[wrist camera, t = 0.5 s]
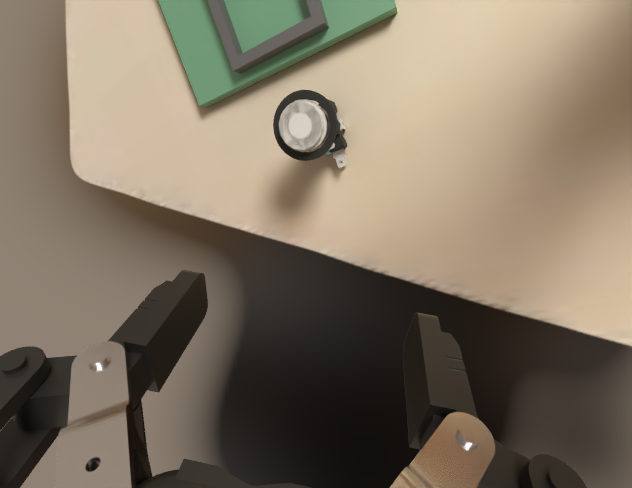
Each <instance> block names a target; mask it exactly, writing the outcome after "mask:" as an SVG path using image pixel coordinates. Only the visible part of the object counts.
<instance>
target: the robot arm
mask: <svg viewBox="0 0 632 488" xmlns="http://www.w3.org/2000/svg"><path fill="white" fill-rule="evenodd" d="M207 308H208V300H207V291H206V282H205V276H204V274H203V273H197V272H192V271H187V270H183V271H181V272H180V273H179V275H178V276H177V277H176V278H175V279H174V280H173V282H171V281H166V282H164V283H162V284H161V285H159V286H157V287H156V288H154V289H153V290H152V291H151V293H150V294H149V295H148V296H147V297H146V298H145V301H143V302H142V303H141V304H140V305H139V306H138V309H136V310H135V311H134V312H133V313H132V314H131V315H130V317H129V318H128V319H127V320H126V321H125V322H124V323H123V325H122V326H121V327H120V328H119V329H118V330H117V331H116V332H115V334H114V335H113V336H112V337H111V338H110V339H109V340H108V341H106V342H100V343H96V344H94V345H91V346H89V347H88V348H86V349H84V350H83V351H82V352H81V353H79V354H78V355H77V356H66V357H54V358H46V355H45V354H44V352H43V350H41V349H40V348H37V347H22V348H18V349H15V350H12V351H10V352H7V353H5V354H3V355H2V356H0V430H1V429H2V428H3V427H4V428H3V429H2V430H1V431H0V488H20V487H21V485H22V484H23V483H24V481H25V480H26V478H27V477H28V476H29V474H30V473H31V472H32V470H33V469H34V468H35V466H36V465H37V463H38V462H39V461H40V459H41V458H42V457H43V455H44V454H45V452H46V451H47V449H48V448H49V447H50V446H51V444H52V443H53V442H54V440H55V439H56V437H57V436H58V443H57V456H56V466H55V478H54V488H310V487H306V486H301V485H297V484H293V483H284V484H270V485H257V486H251V485H249V484H247V483H245V482H243V481H242V480H240V479H238V478H237V477H235V476H233V475H232V474H230V473H228V472H227V471H225V470H223V469H221V468H220V467H218V466H214V465H209V464H205V463H201V462H197V461H192V460H188V459H184V460H183V462H182V464H181V466H180V469H179V470H172V471H168V472H164V473H161V474H158V475H155V476H154V477H152V472H151V467H150V462H149V458H148V452H147V443H146V435H145V426H144V417H143V408H142V402H141V399H142V397H143V395H144V394H145V392H146V391H147V390H150V391H155V392H159V391H160V390H161V388H162V386H163V385H164V383H165V381H166V380H167V378H168V376H169V375H170V373H171V372H172V370H173V368H174V366H175V365H176V363H177V362H178V360H179V358H180V357H181V355H182V354H183V352H184V350H185V349H186V347H187V345H188V344H189V342H190V341H191V339H192V337H193V336H194V334H195V332H196V331H197V329H198V327H199V326H200V324H201V323H202V321H203V319H204V317H205V315H206V312H207ZM403 365H404V379H405V391H406V392H405V393H406V407H407V420H408V434H409V447H411V448H416V449H420V452H419V453H418V455H417V456H416V457H415V459H414V460H413V461H412V462H411V464H410V465H409V466H407V467H406V468H405V469H404V470H403V471H402V472H401V474H400V475H399V476H398V478H397V479H396V480H395V482H394V483H393V484H392V485H391V487H390V488H587V487H586V486H585V484H584V482H583V481H582V479H581V478H580V477H579V476H578V474H577V473H576V472H575V471H574V470H573V469H572V468H570V467H569V466H568V465H567V464H566V463H564V462H562V461H561V460H559V459H557V458H555V457H552V456H550V455H545V454H542V455H541V454H540V455H536V456H534V457H533V458H532V459H531V460H530V459H528V458H526V457H524V456H522V455H520V454H518V453H516V452H514V451H512V450H510V449H508V448H506V447H505V446H503V445H501V444H500V443H498V442H497V441H496V440H494V439H493V437H492V435H491V433H490V432H489V430H488V429H487V427H486V426H485V425H484V424H483V423H482V422H481V421H480V420H479V419H478V416H477V413H476V409H475V405H474V401H473V398H472V393H471V390H470V386H469V382H468V378H467V374H466V373H465V366H464V362H463V358H462V354H461V350H460V346H459V345H458V343H457V342H456V341H455V339H454V338H453V336H452V335H451V334H450V333H444V332H441V330H440V324H439V320H438V317H437V316H432V315H427V314H422V313H415V314H414V317H413V319H412V322H411V325H410V328H409V331H408V333H407V336H406V339H405V343H404V348H403ZM11 418H12V419H11ZM10 419H11V420H10ZM9 420H10V421H9ZM8 421H9V422H8ZM7 422H8V423H7ZM6 423H7V424H6ZM64 426H65V427H64Z"/></svg>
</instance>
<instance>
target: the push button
mask: <svg viewBox="0 0 632 488" xmlns="http://www.w3.org/2000/svg"><path fill="white" fill-rule="evenodd" d="M310 100H314V101H317V102H318V103H319V105H318V104H316V103H314V102H312V101H310ZM336 112H337V108H336V105H335V103H334V102H332V101H330V100H327V99H326V98H325V97H324V96H322V95H321V94H319V93H317V92H314V91H311V90H300V91H296V92H293V93H291V94H290V95H288V96H287V97H286V98H284V99H283V101H282V102H281V103H280V105H279V106H278V108H277V110H276V113H275V116H274V123H273V127H274V134H275V138H276V140H277V143H278V144H279V146H280V148H281V149H282V150H283V151H284V152H285V153H286V154H287V155H289V156H290V157H292V158H294V159H297V160H303V161H307V160H313V159H316V158H319V157H321V156H322V155H324V154H325V155H328V154H332V155H333V158H335V159H336V162H337V165H338V167H339V168H341V167H343V166H346V165H347V162H346V159H345V156H344V155H345V151H344V149H345V148H346V147H347V143H346V140H345V139H344V137H343V136H342V134H341V131H340V130H342V129H346V127H345V124H344V121H343V119H342V118H338V119H337V116H336ZM316 148H319V149H317V150H315V151H313V152H310V153H308V152H307V151H311V150H313V149H316ZM341 160H342V162H343V163H341Z"/></svg>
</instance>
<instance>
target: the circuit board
mask: <svg viewBox="0 0 632 488" xmlns="http://www.w3.org/2000/svg"><path fill="white" fill-rule="evenodd" d="M158 1H159V4H160V6H161V9H162V11H163V14H164V17H165V19H166V22H167V24H168V27H169V29H170V32H171V35H172V37H173V40H174V42H175V45H176V48H177V50H178V53H179V55H180V58H181V60H182V63H183V66H184V68H185V71H186V73H187V76H188V78H189V81H190V84H191V86H192V89H193V91H194V94H195V97H196V99H197V102H198V104H199V106H202V107H209V106H211V105H213V104H215V103H217V102H219V101H221V100H223V99H225V98H227V97H229V96H231V95H233V94H235V93H237V92H239V91H241V90H243V89H245V88H247V87H249V86H251V85H253V84H255V83H257V82H259V81H261V80H263V79H265V78H267V77H269V76H271V75H273V74H275V73H277V72H279V71H281V70H283V69H285V68H287V67H289V66H291V65H293V64H295V63H297V62H299V61H302V60H304V59H306V58H308V57H310V56H312V55H314V54H316V53H318V52H320V51H322V50H324V49H326V48H328V47H330V46H332V45H334V44H336V43H338V42H340V41H342V40H344V39H346V38H348V37H350V36H352V35H354V34H356V33H358V32H360V31H362V30H364V29H366V28H368V27H370V26H372V25H374V24H376V23H378V22H380V21H382V20H384V19H386V18H388V17H390V16H392V15H394V14H396V13H397V9H396V4H395V1H394V0H158Z"/></svg>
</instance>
